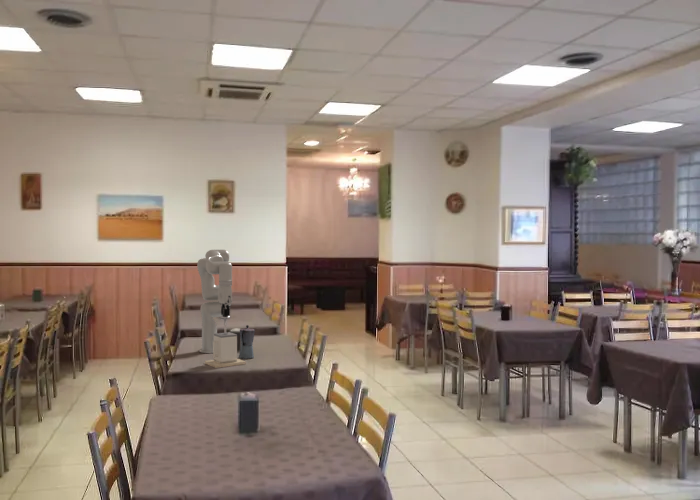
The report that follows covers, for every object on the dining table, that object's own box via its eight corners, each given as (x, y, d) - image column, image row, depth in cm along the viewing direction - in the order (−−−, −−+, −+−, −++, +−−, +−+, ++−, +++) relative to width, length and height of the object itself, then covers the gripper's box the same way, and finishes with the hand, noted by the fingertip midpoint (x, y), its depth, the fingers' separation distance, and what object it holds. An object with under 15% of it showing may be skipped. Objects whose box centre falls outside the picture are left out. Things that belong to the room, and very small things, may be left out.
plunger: (216, 347, 385) (216, 307, 384) (228, 345, 390) (228, 306, 389) (222, 349, 379) (222, 308, 378) (234, 347, 383) (234, 308, 383)
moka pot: (257, 355, 409) (257, 323, 408) (251, 360, 394) (251, 327, 393) (242, 355, 410) (242, 323, 409) (235, 360, 394) (235, 327, 394)
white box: (204, 363, 385) (204, 333, 384) (234, 359, 396) (234, 330, 396) (215, 368, 373) (215, 337, 372) (245, 364, 384) (245, 334, 384)
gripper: (213, 283, 387) (213, 314, 388) (225, 285, 374) (225, 317, 375) (225, 282, 392) (225, 313, 392) (237, 284, 378) (237, 316, 379)
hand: (225, 314), depth 384 cm, fingers closed on plunger, 3 cm apart
